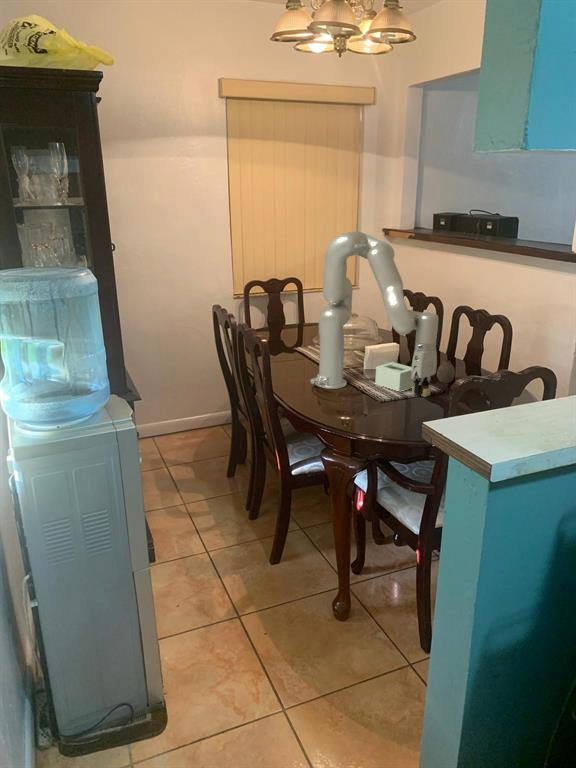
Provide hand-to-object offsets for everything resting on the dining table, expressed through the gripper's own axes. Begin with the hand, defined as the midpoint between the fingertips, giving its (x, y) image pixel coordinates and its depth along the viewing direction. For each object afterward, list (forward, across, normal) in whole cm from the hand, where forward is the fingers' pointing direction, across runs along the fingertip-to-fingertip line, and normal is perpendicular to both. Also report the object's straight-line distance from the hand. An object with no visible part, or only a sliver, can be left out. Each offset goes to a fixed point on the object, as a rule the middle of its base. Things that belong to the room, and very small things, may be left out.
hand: (421, 392), depth 216 cm
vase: (+1, +21, +4) cm, 22 cm away
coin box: (+1, 0, +13) cm, 13 cm away
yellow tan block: (+1, 0, 0) cm, 1 cm away
